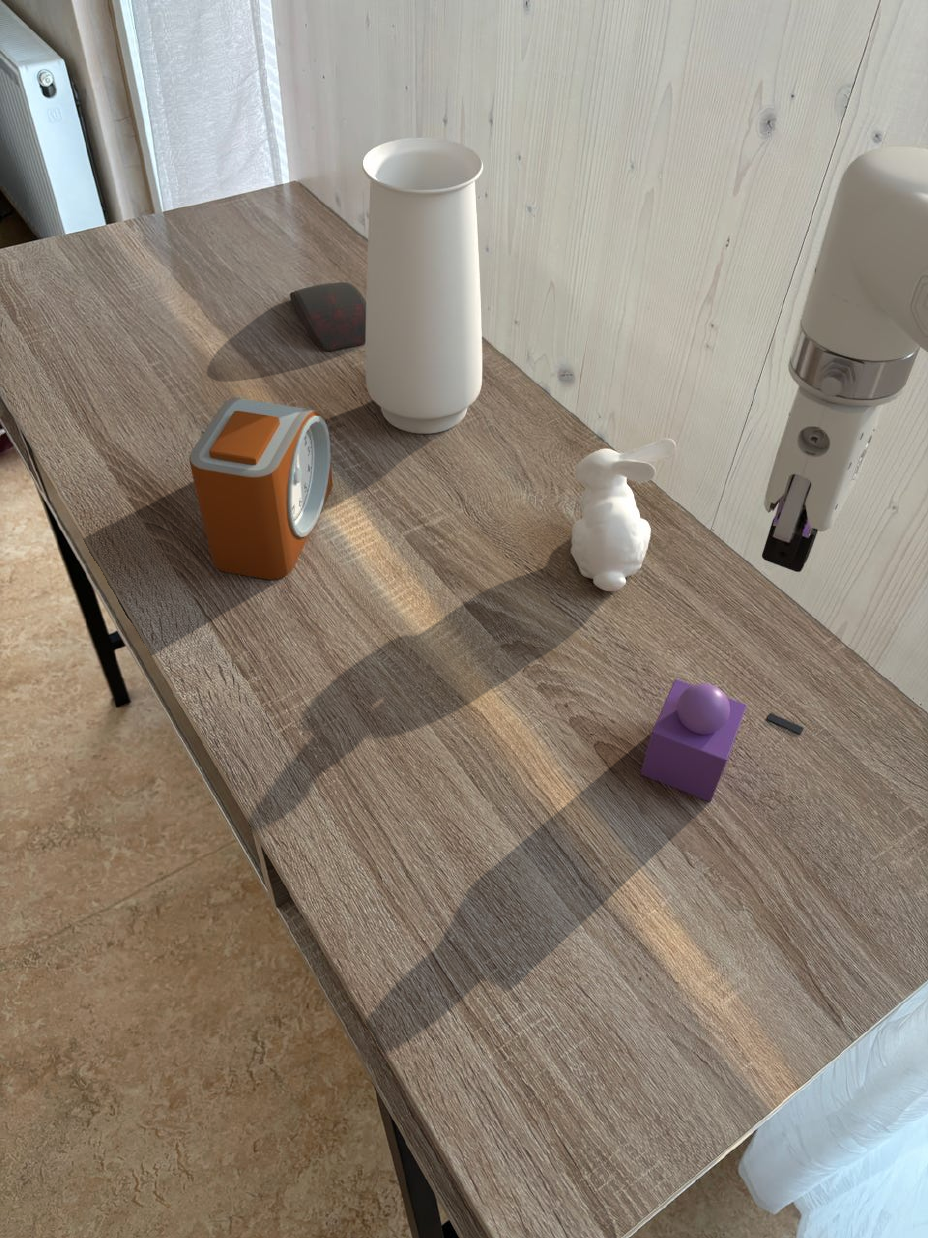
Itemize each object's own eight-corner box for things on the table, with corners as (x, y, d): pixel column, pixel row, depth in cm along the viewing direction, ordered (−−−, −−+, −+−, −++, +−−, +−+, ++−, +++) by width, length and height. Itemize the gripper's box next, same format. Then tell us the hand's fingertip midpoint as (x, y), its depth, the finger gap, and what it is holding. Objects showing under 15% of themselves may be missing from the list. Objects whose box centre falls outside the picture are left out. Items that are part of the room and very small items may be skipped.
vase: (344, 407, 116) (324, 161, 95) (424, 362, 122) (423, 122, 102) (423, 458, 110) (421, 208, 89) (504, 408, 116) (519, 164, 96)
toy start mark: (803, 728, 87) (803, 727, 87) (800, 734, 86) (800, 734, 86) (770, 713, 88) (770, 712, 88) (767, 719, 87) (767, 719, 87)
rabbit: (563, 516, 104) (575, 421, 95) (654, 518, 104) (674, 423, 95) (571, 602, 96) (585, 507, 87) (670, 604, 96) (694, 509, 87)
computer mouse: (315, 355, 123) (312, 325, 120) (283, 299, 131) (280, 270, 128) (378, 341, 125) (377, 312, 122) (343, 287, 133) (341, 259, 130)
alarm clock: (289, 584, 97) (272, 474, 87) (205, 569, 98) (179, 458, 88) (336, 486, 107) (326, 377, 97) (259, 473, 108) (241, 364, 98)
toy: (731, 748, 85) (757, 679, 78) (710, 802, 82) (736, 736, 75) (663, 721, 87) (682, 652, 80) (640, 774, 83) (658, 706, 76)
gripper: (878, 432, 60) (799, 639, 73) (938, 319, 69) (858, 522, 82) (757, 393, 63) (702, 600, 76) (830, 289, 71) (769, 491, 85)
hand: (784, 559), depth 79 cm, fingers closed
